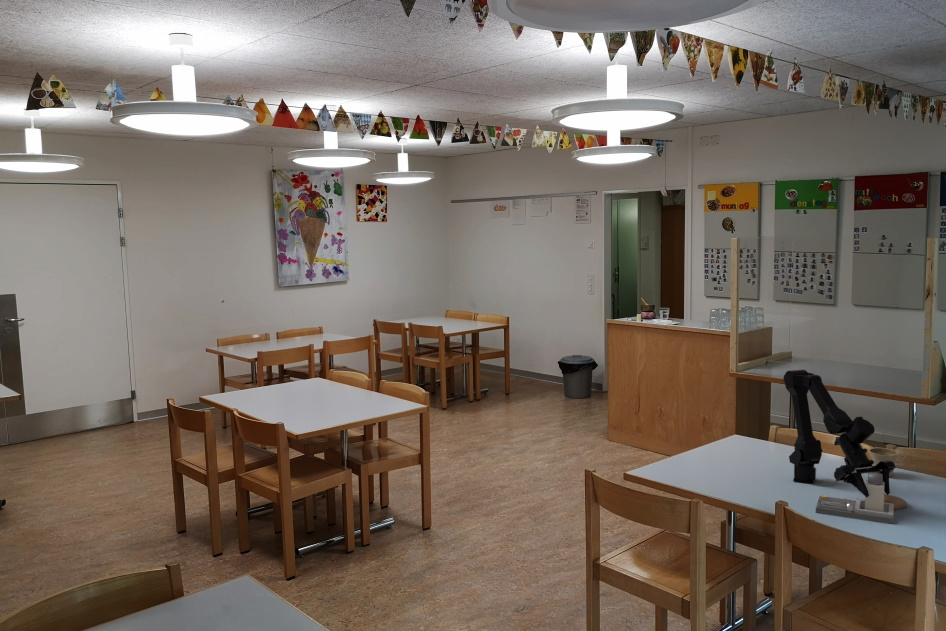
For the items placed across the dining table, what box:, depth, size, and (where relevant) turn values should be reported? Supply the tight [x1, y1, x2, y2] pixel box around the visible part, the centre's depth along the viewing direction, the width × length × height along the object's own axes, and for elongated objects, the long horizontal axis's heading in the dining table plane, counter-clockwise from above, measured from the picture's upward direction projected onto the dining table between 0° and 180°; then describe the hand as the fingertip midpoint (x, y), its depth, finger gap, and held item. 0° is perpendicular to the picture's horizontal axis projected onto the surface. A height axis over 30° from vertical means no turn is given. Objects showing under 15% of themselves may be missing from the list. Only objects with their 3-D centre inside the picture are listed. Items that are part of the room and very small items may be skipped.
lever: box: [817, 499, 853, 512], centre depth 232 cm, size 10×2×4 cm, turn 59°
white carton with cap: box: [864, 472, 885, 512], centre depth 230 cm, size 5×5×13 cm
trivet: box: [884, 493, 907, 511], centre depth 240 cm, size 11×11×1 cm
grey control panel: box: [815, 494, 895, 525], centre depth 234 cm, size 21×12×3 cm, turn 59°
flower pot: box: [868, 447, 899, 478], centre depth 267 cm, size 9×9×9 cm
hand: (878, 495), depth 229 cm, fingers closed on white carton with cap, 7 cm apart
